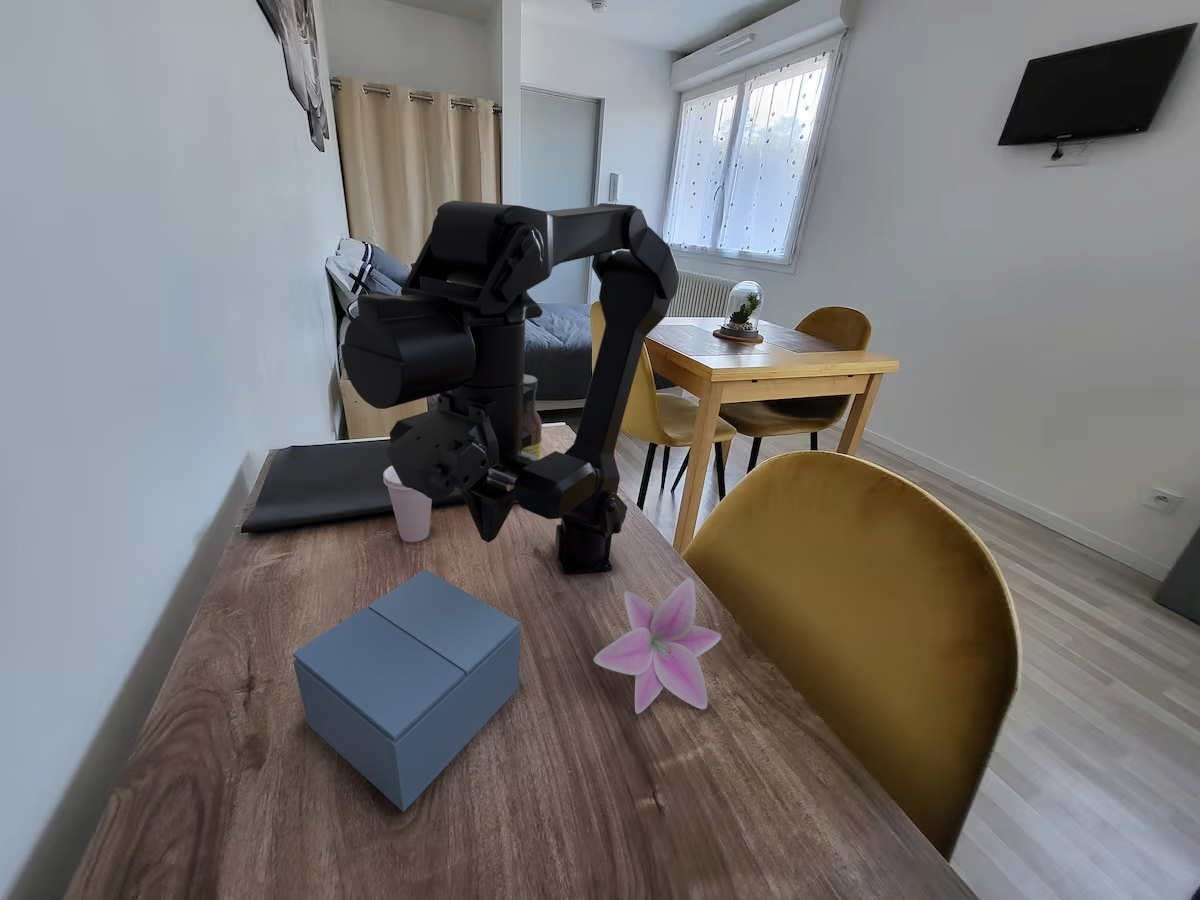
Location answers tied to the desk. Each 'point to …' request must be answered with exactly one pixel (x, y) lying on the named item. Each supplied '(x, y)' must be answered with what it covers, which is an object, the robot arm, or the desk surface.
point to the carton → (398, 700)
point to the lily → (662, 648)
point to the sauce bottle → (532, 420)
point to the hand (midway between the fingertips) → (488, 539)
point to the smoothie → (408, 508)
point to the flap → (445, 619)
